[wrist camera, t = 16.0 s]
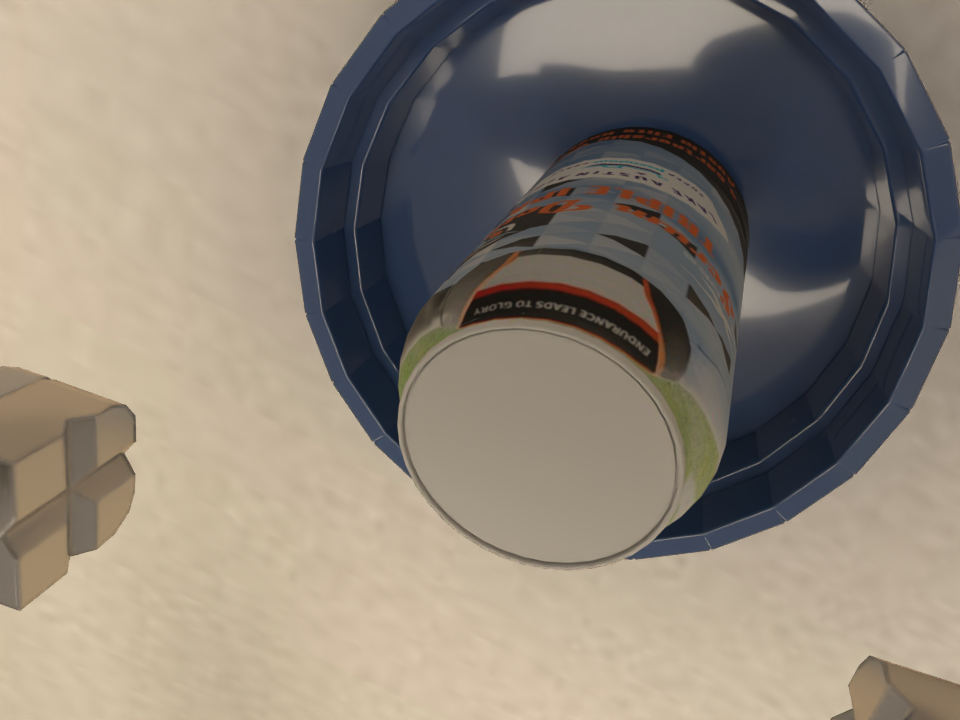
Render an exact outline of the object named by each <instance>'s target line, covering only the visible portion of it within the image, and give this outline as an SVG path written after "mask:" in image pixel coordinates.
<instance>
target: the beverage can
mask: <svg viewBox="0 0 960 720" xmlns="http://www.w3.org/2000/svg"><path fill="white" fill-rule="evenodd" d="M749 237H750V235H749V221H748V214H747V211H746V207H745V203H744V199H743V197H742V195H741V193H740V191H739V189H738V187H737V184H736V182H735V180H734V179H733V178H732V176H731V175H730V174H729V172H728V171H727V170H726V168H725V167H724V166H723V164H722V163H721V162H720V161H719V160H717V159H716V158H715V157H714V156H713V155H712V154H711V153H710V152H709V151H708V150H706V149H705V148H703V147H701V146H700V145H698V144H697V143H695V142H693V141H692V140H690V139H688V138H686V137H683V136H681V135H678V134H676V133H673V132H671V131H666V130H661V129H656V128H651V127H625V128H618V129H611V130H607V131H604V132H602V133H599V134H596V135H593V136H590V137H588V138H586V139H585V140H583V141H581V142H579V143H577V144H576V145H574V146H573V147H571V148H570V149H569V150H568V151H566V152H565V153H564V154H563V155H562V156H560V157H559V158H558V159H557V160H556V161H555V162H554V164H553V165H552V166H551V167H550V168H549V169H548V170H547V171H546V172H545V173H544V174H543V175H542V177H541V178H540V179H539V180H538V181H537V182H536V183H535V184H534V185H533V186H532V187H531V189H530V190H529V191H528V192H527V193H526V194H525V195H524V196H523V197H522V198H521V199H520V201H519V202H518V203H517V204H516V205H515V206H514V207H513V208H512V209H511V210H510V211H509V213H508V214H507V215H506V216H505V217H504V218H503V219H502V220H501V221H500V222H499V223H498V225H497V226H496V227H495V228H494V229H493V230H492V231H491V232H490V233H489V234H488V235H487V237H486V238H485V239H484V240H483V241H482V242H481V243H480V244H479V245H478V246H477V247H476V249H475V250H474V251H473V252H472V253H471V254H470V255H469V256H468V257H467V258H466V259H465V260H464V262H463V263H462V264H461V265H460V266H459V267H458V268H457V269H456V270H455V271H454V272H453V274H452V275H451V276H450V277H449V278H448V279H447V280H446V281H445V282H444V283H443V284H442V286H441V287H440V288H439V289H438V290H437V291H436V292H435V293H434V295H433V296H432V297H431V298H430V299H429V301H428V302H427V303H426V304H425V305H424V307H423V308H422V309H421V310H420V312H419V314H418V316H417V317H416V319H415V321H414V323H413V325H412V327H411V329H410V331H409V333H408V335H407V338H406V342H405V345H404V349H403V352H402V356H401V359H400V370H399V383H398V389H399V398H400V403H399V411H398V423H397V426H398V435H399V444H400V448H401V451H402V455H403V458H404V461H405V465H406V467H407V469H408V471H409V473H410V475H411V477H412V479H413V481H414V483H415V485H416V487H417V488H418V490H419V491H420V492H421V494H422V495H423V497H424V498H425V500H426V501H427V503H428V504H429V505H430V506H431V507H432V508H433V509H434V510H435V511H436V512H437V514H438V515H439V516H440V517H441V518H442V519H443V520H444V521H445V522H447V523H448V524H449V525H450V526H451V527H453V528H454V529H455V530H456V531H457V532H459V533H460V534H461V535H463V536H464V537H466V538H467V539H469V540H470V541H472V542H473V543H475V544H477V545H478V546H480V547H482V548H484V549H486V550H488V551H490V552H492V553H494V554H496V555H498V556H500V557H503V558H506V559H509V560H512V561H515V562H518V563H521V564H524V565H529V566H534V567H539V568H544V569H556V570H580V569H592V568H596V567H600V566H604V565H608V564H613V563H615V562H617V561H620V560H622V559H624V558H627V557H629V556H631V555H633V554H635V553H636V552H638V551H639V550H641V549H642V548H644V547H645V546H647V545H648V544H650V543H651V542H652V541H653V540H654V539H655V538H656V537H657V536H658V534H659V533H660V532H661V531H662V530H663V529H664V528H665V527H667V526H668V525H670V524H671V523H673V522H674V521H675V520H677V519H678V518H680V517H681V516H682V515H683V514H684V513H685V512H686V511H687V510H688V509H689V508H690V507H691V506H692V505H693V504H694V503H695V502H696V501H697V500H698V499H699V498H700V497H701V496H702V494H703V493H704V491H705V490H706V488H707V486H708V485H709V483H710V482H711V480H712V478H713V477H714V475H715V474H716V472H717V469H718V466H719V463H720V460H721V458H722V455H723V452H724V449H725V446H726V439H727V431H728V423H729V414H730V405H731V396H732V387H733V379H734V370H735V361H736V352H737V343H738V334H739V326H740V317H741V308H742V299H743V290H744V281H745V272H746V264H747V255H748V246H749Z"/></svg>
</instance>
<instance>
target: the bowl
mask: <svg viewBox="0 0 960 720" xmlns="http://www.w3.org/2000/svg"><path fill="white" fill-rule="evenodd" d="M383 14H384V15H383ZM383 14H382V15H381V16H380V17H379V18H378V20H377V21H376V23H375V24H374V25H373V27H372V28H371V30H370V31H369V32H368V34H367V35H366V37H365V38H364V39H363V41H362V42H361V44H360V45H359V46H358V48H357V49H356V51H355V52H354V53H353V55H352V56H351V58H350V59H349V60H348V62H347V63H346V65H345V66H344V67H343V69H342V70H341V72H340V73H339V74H338V76H337V77H336V79H335V80H334V81H333V84H332V85H331V86H330V89H329V92H328V94H327V97H326V100H325V102H324V105H323V108H322V111H321V113H320V116H319V119H318V121H317V124H316V127H315V129H314V132H313V135H312V137H311V140H310V143H309V145H308V148H307V151H306V153H305V156H304V159H303V161H304V162H303V165H302V175H301V184H300V194H299V203H298V213H297V222H296V232H295V238H296V240H295V244H296V251H297V258H298V265H299V272H300V279H301V287H302V294H303V301H304V308H305V313H307V314H306V317H307V320H308V322H309V325H310V327H311V330H312V332H313V335H314V338H315V340H316V343H317V345H318V348H319V350H320V353H321V355H322V358H323V361H324V363H325V366H326V368H327V371H328V373H329V376H330V378H331V381H332V382H333V384H334V386H335V388H336V389H337V391H338V392H339V393H340V395H341V396H342V398H343V399H344V401H345V402H346V404H347V405H348V407H349V408H350V410H351V411H352V412H353V414H354V415H355V417H356V418H357V420H358V421H359V423H360V424H361V426H362V427H363V429H364V430H365V431H366V433H367V434H368V436H369V437H370V439H371V440H372V441H373V442H374V444H375V445H376V446H377V447H378V448H379V449H380V450H381V451H383V452H384V453H385V454H386V455H387V456H388V457H389V458H390V459H391V460H392V461H393V462H394V463H395V464H396V465H398V466H399V467H400V468H401V469H402V470H403V471H404V472H405V473H406V474H407V475H408V476H409V477H410V478H411V479H412V477H411V475H410V473H409V471H408V469H407V467H406V465H405V461H404V458H403V455H402V451H401V448H400V444H399V435H398V426H397V423H398V411H399V403H400V398H399V389H398V383H399V370H400V359H401V356H402V352H403V349H404V345H405V342H406V338H407V335H408V333H409V331H410V329H411V327H412V325H413V323H414V321H415V319H416V317H417V316H418V314H419V312H420V310H421V309H422V308H423V307H424V305H425V304H426V303H427V302H428V301H429V299H430V298H431V297H432V296H433V295H434V293H435V292H436V291H437V290H438V289H439V288H440V287H441V286H442V284H443V283H444V282H445V281H446V280H447V279H448V278H449V277H450V276H451V275H452V274H453V272H454V271H455V270H456V269H457V268H458V267H459V266H460V265H461V264H462V263H463V262H464V260H465V259H466V258H467V257H468V256H469V255H470V254H471V253H472V252H473V251H474V250H475V249H476V247H477V246H478V245H479V244H480V243H481V242H482V241H483V240H484V239H485V238H486V237H487V235H488V234H489V233H490V232H491V231H492V230H493V229H494V228H495V227H496V226H497V225H498V223H499V222H500V221H501V220H502V219H503V218H504V217H505V216H506V215H507V214H508V213H509V211H510V210H511V209H512V208H513V207H514V206H515V205H516V204H517V203H518V202H519V201H520V199H521V198H522V197H523V196H524V195H525V194H526V193H527V192H528V191H529V190H530V189H531V187H532V186H533V185H534V184H535V183H536V182H537V181H538V180H539V179H540V178H541V177H542V175H543V174H544V173H545V172H546V171H547V170H548V169H549V168H550V167H551V166H552V165H553V164H554V162H555V161H556V160H557V159H558V158H559V157H560V156H562V155H563V154H564V153H565V152H566V151H568V150H569V149H570V148H571V147H573V146H574V145H576V144H577V143H579V142H581V141H583V140H585V139H586V138H588V137H590V136H593V135H596V134H599V133H602V132H604V131H607V130H611V129H618V128H625V127H651V128H656V129H661V130H666V131H671V132H673V133H676V134H678V135H681V136H683V137H686V138H688V139H690V140H692V141H693V142H695V143H697V144H698V145H700V146H701V147H703V148H705V149H706V150H708V151H709V152H710V153H711V154H712V155H713V156H714V157H715V158H716V159H717V160H719V161H720V162H721V163H722V164H723V166H724V167H725V168H726V170H727V171H728V172H729V174H730V175H731V176H732V178H733V179H734V180H735V182H736V184H737V187H738V189H739V191H740V193H741V195H742V197H743V199H744V203H745V207H746V211H747V214H748V221H749V235H750V237H749V246H748V255H747V264H746V272H745V281H744V290H743V299H742V308H741V317H740V326H739V334H738V343H737V352H736V361H735V370H734V379H733V387H732V396H731V405H730V414H729V423H728V431H727V439H726V446H725V449H724V452H723V455H722V458H721V460H720V463H719V466H718V469H717V472H716V474H715V475H714V477H713V478H712V480H711V482H710V483H709V485H708V486H707V488H706V490H705V491H704V493H703V494H702V496H701V497H700V498H699V499H698V500H697V501H696V502H695V503H694V504H693V505H692V506H691V507H690V508H689V509H688V510H687V511H686V512H685V513H684V514H683V515H682V516H681V517H680V518H678V519H677V520H675V521H674V522H673V523H671V524H670V525H668V526H667V527H665V528H664V529H663V530H662V531H661V532H660V533H659V534H658V536H657V537H656V538H655V539H654V540H653V541H652V542H651V543H650V544H648V545H647V546H645V547H644V548H642V549H641V550H639V551H638V552H636V553H635V554H633V555H631V556H629V557H627V558H624V559H629V560H633V559H636V560H637V559H645V558H653V557H661V556H669V555H677V554H685V553H694V552H702V551H708V550H710V549H711V550H712V549H716V548H718V547H721V546H724V545H727V544H729V543H732V542H735V541H737V540H740V539H743V538H745V537H748V536H751V535H754V534H756V533H759V532H762V531H764V530H767V529H770V528H772V527H775V526H778V525H781V524H783V523H784V522H785V521H789V520H790V519H792V518H793V517H795V516H796V515H798V514H799V513H801V512H802V511H804V510H805V509H806V508H808V507H809V506H811V505H812V504H814V503H815V502H817V501H818V500H820V499H821V498H823V497H824V496H826V495H827V494H829V493H830V492H831V491H833V490H834V489H836V488H837V487H839V486H840V485H842V484H843V483H845V482H846V481H848V480H849V479H851V478H852V477H853V474H854V475H855V474H857V472H858V471H859V470H860V469H861V468H862V467H863V465H864V464H865V463H866V462H867V461H868V460H869V459H870V457H871V456H872V455H873V454H874V453H875V452H876V451H877V449H878V448H879V447H880V446H881V445H882V444H883V442H884V441H885V440H886V439H887V438H888V437H889V436H890V434H891V433H892V432H893V431H894V430H895V429H896V428H897V426H898V425H899V424H900V423H901V422H902V421H903V419H904V418H905V417H906V416H907V415H908V414H909V412H910V409H912V408H913V406H914V404H915V402H916V400H917V398H918V395H919V393H920V391H921V389H922V387H923V385H924V383H925V381H926V379H927V376H928V374H929V372H930V370H931V368H932V366H933V364H934V362H935V360H936V357H937V355H938V353H939V351H940V349H941V347H942V345H943V343H944V341H945V338H946V336H947V334H948V332H949V328H950V327H951V322H952V315H953V309H954V303H955V296H956V290H957V283H958V277H959V270H960V203H959V196H958V189H957V183H956V176H955V169H954V163H953V156H952V149H951V143H950V142H949V141H948V140H949V136H948V134H947V132H946V130H945V128H944V126H943V124H942V122H941V120H940V118H939V116H938V114H937V112H936V110H935V108H934V106H933V104H932V102H931V100H930V98H929V96H928V94H927V92H926V90H925V87H924V85H923V83H922V81H921V79H920V77H919V75H918V73H917V71H916V69H915V67H914V65H913V63H912V61H911V59H910V57H909V55H908V53H907V51H904V47H903V46H902V45H901V44H900V43H899V42H898V41H897V40H896V39H895V38H894V37H893V36H892V35H891V34H890V33H889V32H888V31H887V30H886V28H885V27H884V26H883V25H882V24H881V23H880V22H879V21H878V20H877V19H876V18H875V17H874V16H873V15H872V14H871V13H870V12H869V11H868V10H867V9H866V8H865V7H864V6H863V5H862V4H861V3H860V2H859V1H858V0H398V1H397V2H395V3H394V4H393V5H392V6H390V7H389V8H388V9H387V10H385V12H384V13H383Z"/></svg>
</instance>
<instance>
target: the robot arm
mask: <svg viewBox="0 0 960 720" xmlns="http://www.w3.org/2000/svg"><path fill="white" fill-rule="evenodd" d="M135 442H136V419H135V415H134V414H133V412H132V411H131V410H130V409H129V408H128V407H127V406H126V405H124V404H121V403H118V402H116V401H113V400H110V399H107V398H104V397H102V396H99V395H96V394H93V393H91V392H88V391H85V390H82V389H79V388H77V387H74V386H71V385H68V384H66V383H63V382H60V381H57V380H52V379H50V378H48V377H46V376H43V375H40V374H37V373H34V372H31V371H28V370H25V369H22V368H19V367H7V366H2V367H0V604H2V605H5V606H7V607H10V608H13V609H16V610H19V611H20V610H22V609H23V608H24V607H25V606H27V605H28V604H29V603H30V602H32V601H33V600H34V599H35V598H37V597H38V596H39V595H40V594H42V593H43V592H44V591H45V590H47V589H48V588H49V587H50V586H52V585H53V584H54V583H55V582H57V581H58V580H59V579H61V578H62V577H63V576H64V575H66V574H67V572H68V566H69V560H70V557H71V556H74V555H78V554H82V553H85V552H89V551H93V550H96V549H98V548H99V547H100V546H101V545H102V544H104V543H105V542H106V541H107V540H108V539H110V538H111V537H112V536H113V535H114V534H115V533H116V531H117V530H118V528H119V527H120V525H121V524H122V522H123V521H124V519H125V517H126V516H127V514H128V513H129V510H130V507H131V503H132V500H133V496H134V493H135V473H134V471H133V469H132V467H131V465H130V463H129V461H128V460H127V458H126V456H125V454H124V453H125V452H126V451H127V450H128V449H129V448H130V447H131V446H132V445H133V444H134V443H135ZM848 686H849V691H850V696H851V700H852V705H853V709H851V710H848V711H846V712H844V713H841V714H839V715H837V716H835V717H832V718H831V719H830V720H960V685H959V684H956V683H953V682H950V681H947V680H944V679H941V678H938V677H935V676H932V675H929V674H925V673H922V672H919V671H916V670H913V669H910V668H907V667H904V666H901V665H898V664H895V663H891V662H888V661H885V660H882V659H879V658H876V657H873V656H869V657H867V658H866V659H865V660H864V661H863V662H862V663H861V664H860V665H859V666H858V668H857V670H856V672H855V674H854V676H853V677H852V679H851V681H850V683H849V685H848Z"/></svg>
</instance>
